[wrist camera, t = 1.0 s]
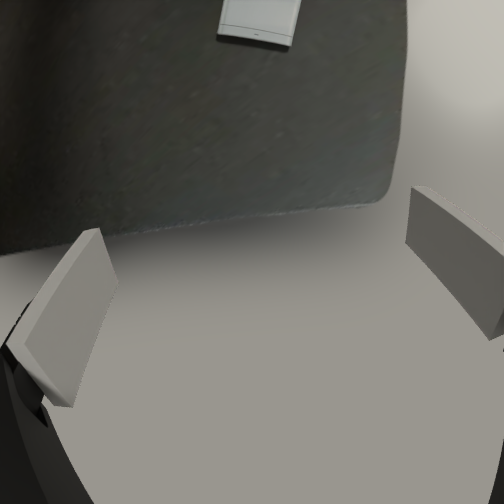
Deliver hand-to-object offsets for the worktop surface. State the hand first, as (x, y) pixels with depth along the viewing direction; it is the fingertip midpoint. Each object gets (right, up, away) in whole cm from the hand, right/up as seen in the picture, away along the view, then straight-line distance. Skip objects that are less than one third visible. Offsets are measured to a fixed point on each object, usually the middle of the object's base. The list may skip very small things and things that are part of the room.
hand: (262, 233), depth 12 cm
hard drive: (+1, +28, +13) cm, 31 cm away
